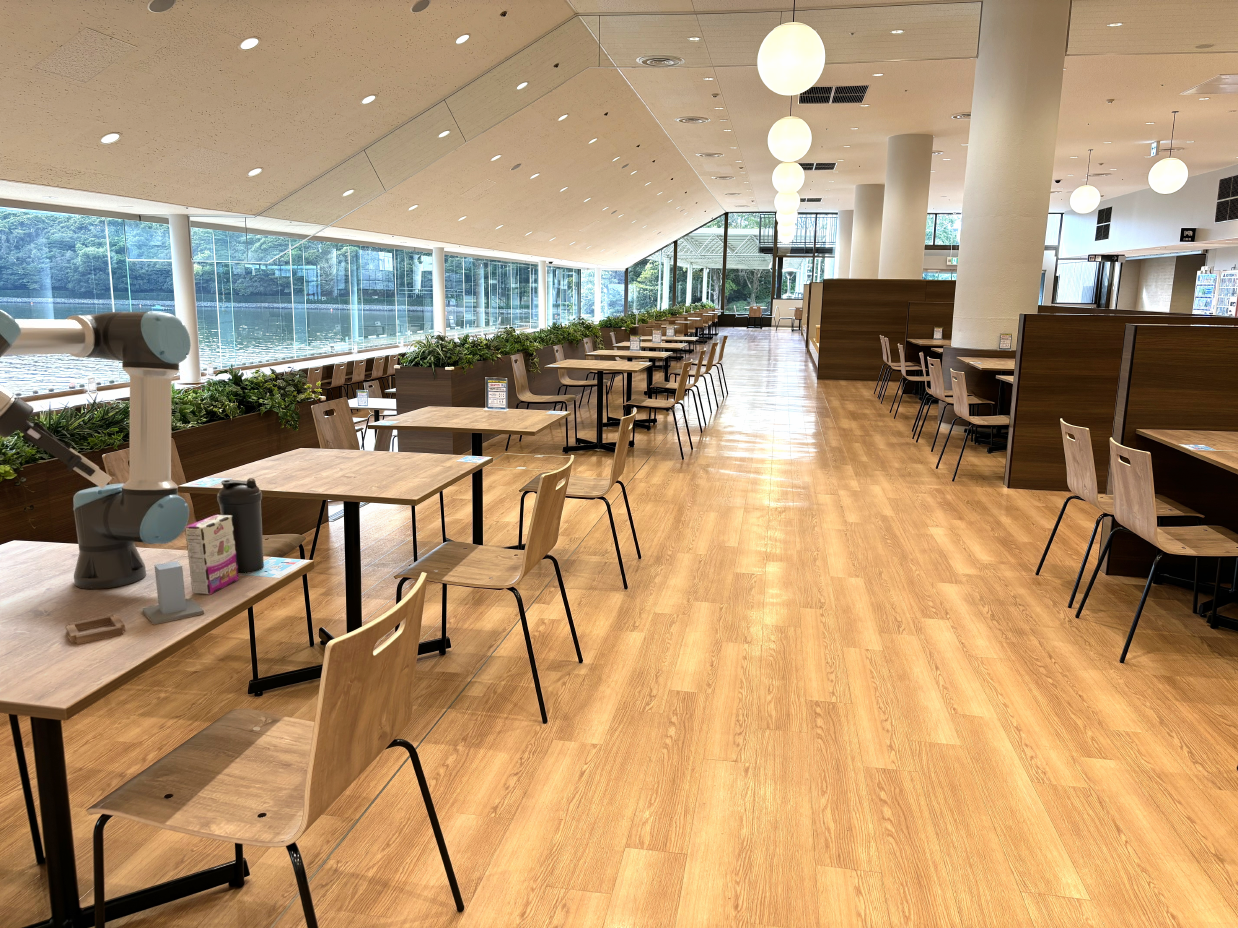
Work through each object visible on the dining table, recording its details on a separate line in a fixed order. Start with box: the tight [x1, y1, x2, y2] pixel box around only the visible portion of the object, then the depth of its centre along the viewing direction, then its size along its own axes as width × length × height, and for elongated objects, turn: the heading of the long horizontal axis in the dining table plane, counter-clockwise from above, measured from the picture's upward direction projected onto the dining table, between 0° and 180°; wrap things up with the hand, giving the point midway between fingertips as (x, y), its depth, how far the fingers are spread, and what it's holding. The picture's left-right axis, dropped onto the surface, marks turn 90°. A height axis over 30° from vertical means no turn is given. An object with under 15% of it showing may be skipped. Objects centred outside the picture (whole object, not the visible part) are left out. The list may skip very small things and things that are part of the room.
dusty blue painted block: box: [154, 560, 187, 614], centre depth 187 cm, size 4×4×10 cm
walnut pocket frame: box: [65, 614, 126, 645], centre depth 177 cm, size 10×10×2 cm
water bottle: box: [216, 477, 265, 575], centre depth 216 cm, size 10×10×23 cm
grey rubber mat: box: [141, 597, 205, 625], centre depth 188 cm, size 10×10×1 cm
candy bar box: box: [184, 514, 240, 595], centre depth 203 cm, size 11×5×16 cm, turn 168°
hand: (100, 477), depth 175 cm, fingers open, 13 cm apart
